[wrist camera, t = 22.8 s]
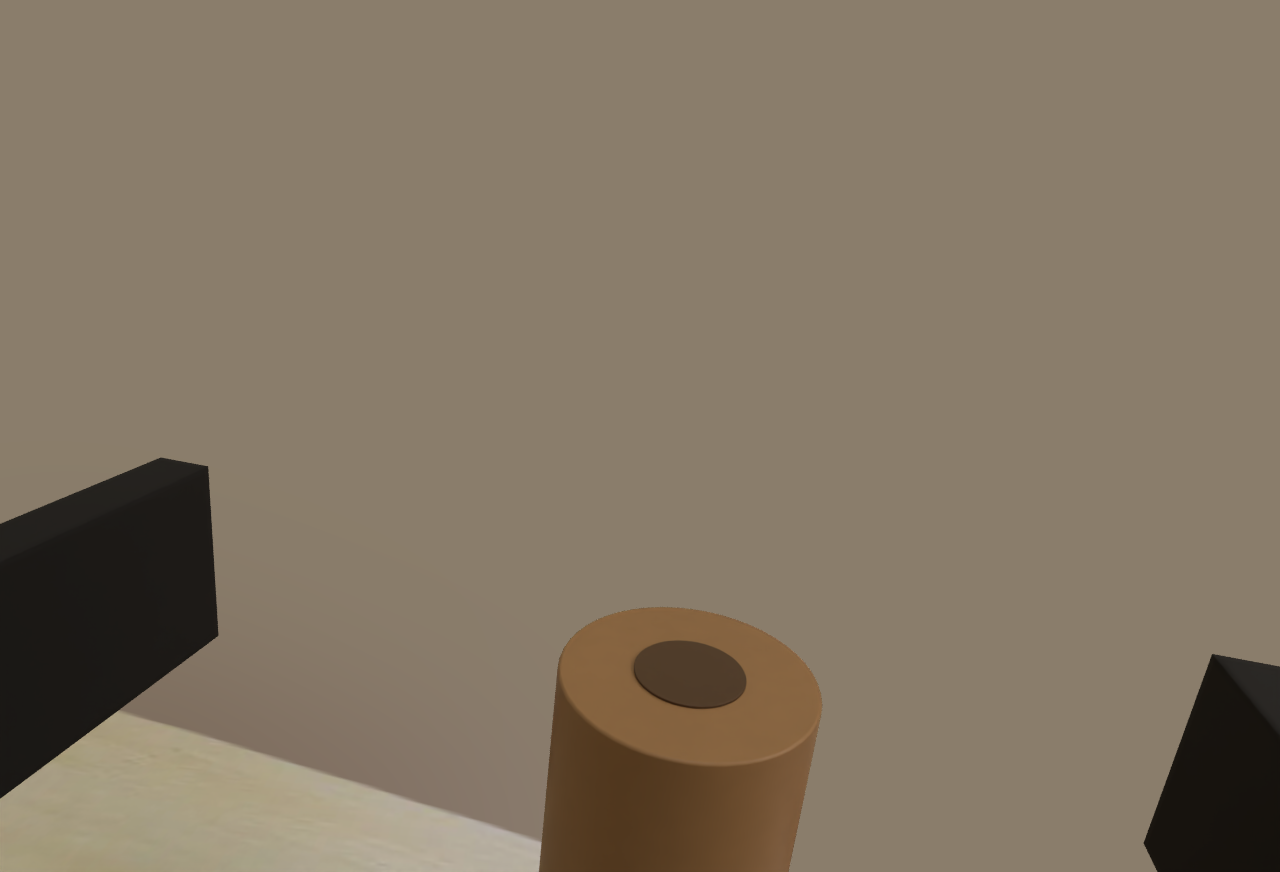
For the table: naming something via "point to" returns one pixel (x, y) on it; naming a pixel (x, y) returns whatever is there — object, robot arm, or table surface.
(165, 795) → the table surface
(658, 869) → the paper roll
